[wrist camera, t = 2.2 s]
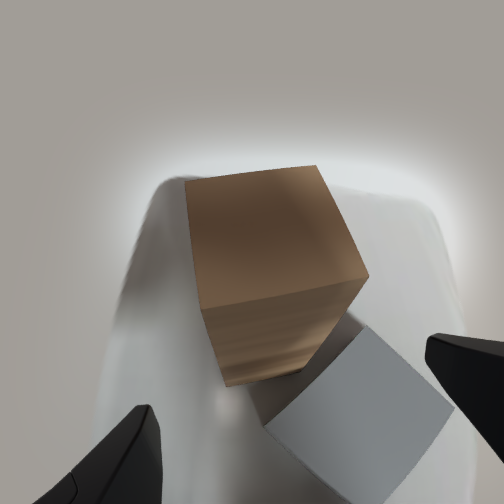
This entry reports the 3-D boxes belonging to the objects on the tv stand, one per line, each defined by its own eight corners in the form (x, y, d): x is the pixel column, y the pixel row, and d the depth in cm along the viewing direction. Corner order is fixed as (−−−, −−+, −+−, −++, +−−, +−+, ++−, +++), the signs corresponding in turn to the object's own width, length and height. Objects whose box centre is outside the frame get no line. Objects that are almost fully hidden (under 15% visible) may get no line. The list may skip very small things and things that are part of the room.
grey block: (355, 509, 14) (369, 516, 12) (262, 426, 18) (265, 425, 15) (436, 413, 17) (455, 408, 15) (354, 337, 21) (366, 325, 19)
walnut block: (300, 371, 20) (369, 276, 9) (226, 387, 19) (200, 309, 8) (282, 305, 22) (315, 165, 12) (213, 318, 22) (184, 181, 11)
